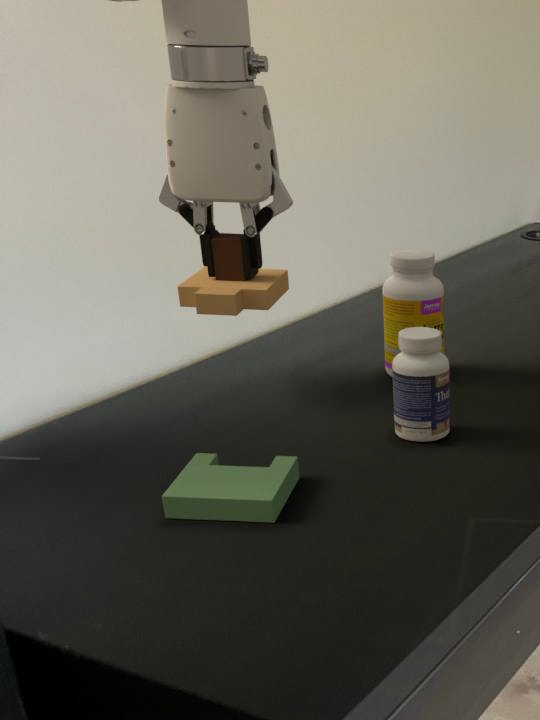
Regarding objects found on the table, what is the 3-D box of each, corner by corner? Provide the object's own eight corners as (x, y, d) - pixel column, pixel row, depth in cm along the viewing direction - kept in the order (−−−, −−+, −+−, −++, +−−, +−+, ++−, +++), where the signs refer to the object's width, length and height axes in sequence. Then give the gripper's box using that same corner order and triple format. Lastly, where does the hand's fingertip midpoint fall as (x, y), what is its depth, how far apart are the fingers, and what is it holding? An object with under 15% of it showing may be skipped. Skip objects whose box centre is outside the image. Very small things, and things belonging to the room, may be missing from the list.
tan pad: (171, 313, 97) (162, 248, 94) (206, 285, 106) (199, 226, 103) (262, 317, 96) (256, 252, 93) (289, 289, 106) (284, 229, 103)
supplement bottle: (424, 386, 107) (421, 263, 100) (374, 376, 110) (368, 255, 103) (455, 370, 112) (455, 251, 105) (407, 360, 115) (403, 244, 108)
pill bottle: (446, 444, 94) (445, 342, 88) (390, 442, 94) (386, 339, 89) (452, 424, 98) (452, 325, 93) (399, 422, 98) (395, 323, 93)
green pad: (165, 518, 80) (161, 496, 79) (199, 473, 87) (196, 452, 86) (274, 523, 79) (272, 500, 78) (299, 477, 87) (297, 456, 86)
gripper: (308, 69, 94) (320, 270, 104) (139, 64, 95) (167, 264, 105) (290, 73, 88) (304, 286, 98) (109, 67, 89) (142, 280, 98)
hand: (233, 273), depth 101 cm, fingers closed on tan pad, 3 cm apart
